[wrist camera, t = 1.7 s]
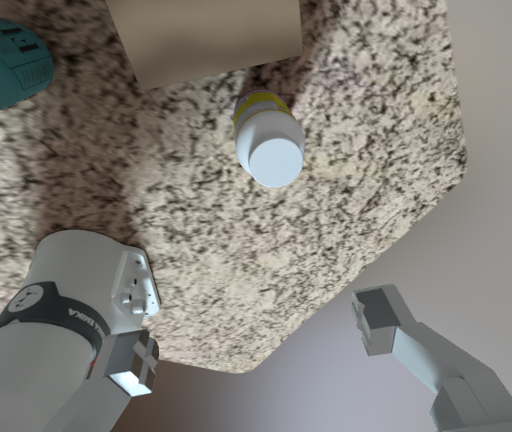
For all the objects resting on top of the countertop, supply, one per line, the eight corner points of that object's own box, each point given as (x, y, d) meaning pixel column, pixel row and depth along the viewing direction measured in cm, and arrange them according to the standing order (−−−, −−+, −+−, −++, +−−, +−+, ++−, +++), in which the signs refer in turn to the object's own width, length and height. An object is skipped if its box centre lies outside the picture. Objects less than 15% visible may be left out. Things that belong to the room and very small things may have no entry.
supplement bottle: (289, 138, 37) (315, 191, 27) (238, 147, 37) (244, 203, 27) (285, 82, 33) (313, 119, 23) (227, 93, 33) (230, 134, 23)
